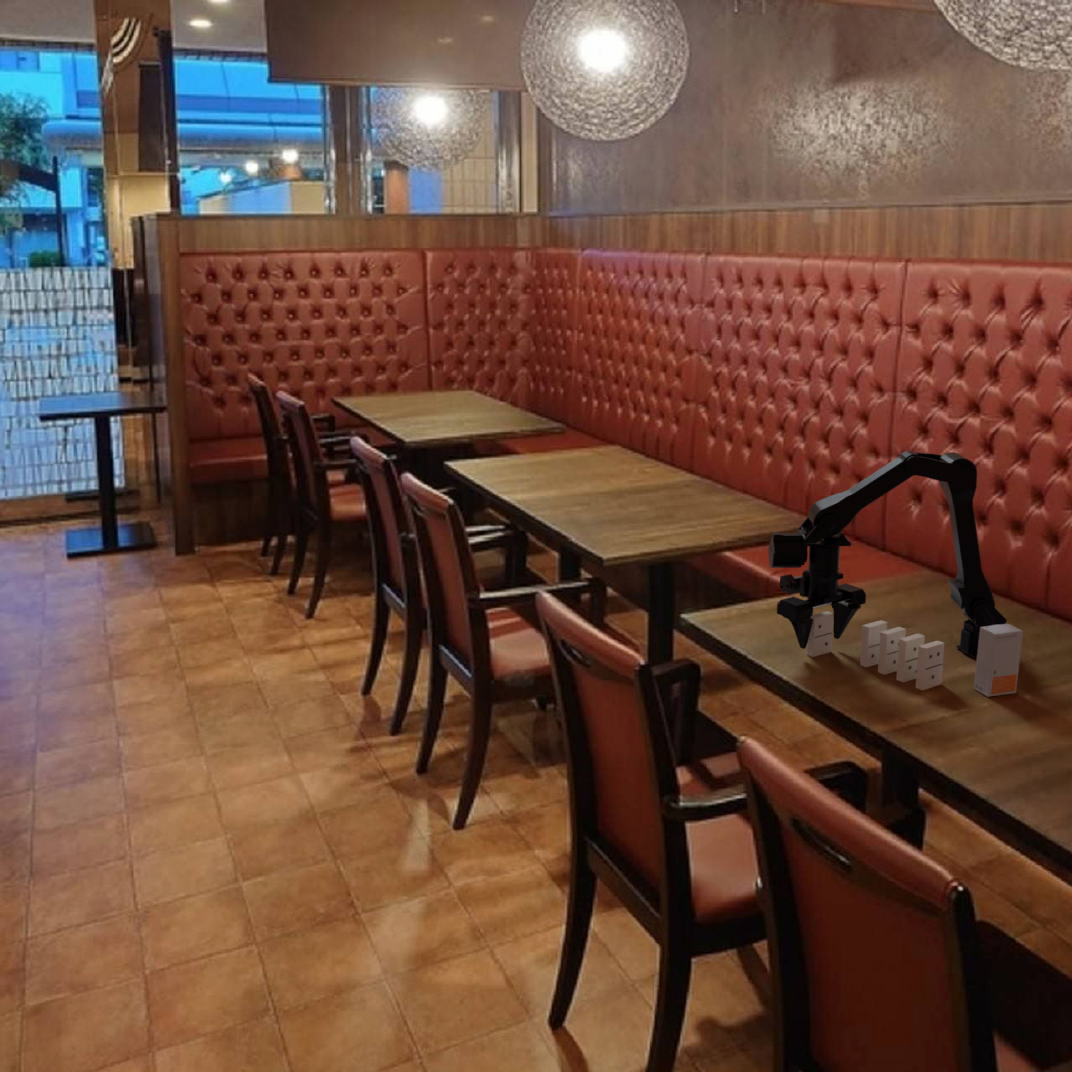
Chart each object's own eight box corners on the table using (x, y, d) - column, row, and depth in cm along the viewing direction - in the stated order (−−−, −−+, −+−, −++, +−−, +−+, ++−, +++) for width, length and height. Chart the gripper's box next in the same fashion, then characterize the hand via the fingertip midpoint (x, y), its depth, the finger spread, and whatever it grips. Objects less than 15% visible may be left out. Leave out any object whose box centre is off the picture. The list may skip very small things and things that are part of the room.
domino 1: (806, 654, 221) (808, 616, 219) (825, 649, 224) (827, 611, 222) (813, 657, 220) (814, 618, 218) (831, 651, 222) (833, 613, 220)
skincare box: (988, 698, 200) (994, 634, 197) (973, 688, 204) (978, 626, 200) (1017, 693, 201) (1024, 630, 198) (1002, 684, 205) (1008, 622, 202)
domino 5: (915, 687, 205) (918, 646, 203) (934, 681, 207) (937, 640, 205) (923, 690, 203) (926, 648, 201) (941, 684, 206) (944, 643, 204)
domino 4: (896, 679, 208) (899, 638, 206) (914, 673, 211) (917, 633, 209) (903, 682, 207) (906, 641, 205) (922, 676, 210) (925, 636, 207)
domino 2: (860, 664, 216) (862, 625, 214) (878, 659, 218) (880, 620, 216) (866, 667, 214) (869, 627, 212) (885, 661, 217) (887, 622, 215)
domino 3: (877, 672, 212) (880, 632, 210) (896, 666, 215) (899, 626, 212) (884, 674, 211) (887, 634, 209) (903, 669, 213) (906, 629, 211)
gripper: (827, 549, 228) (823, 622, 233) (758, 565, 219) (755, 640, 223) (870, 562, 219) (865, 638, 223) (799, 579, 210) (796, 658, 214)
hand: (819, 643), depth 221 cm, fingers open, 9 cm apart
